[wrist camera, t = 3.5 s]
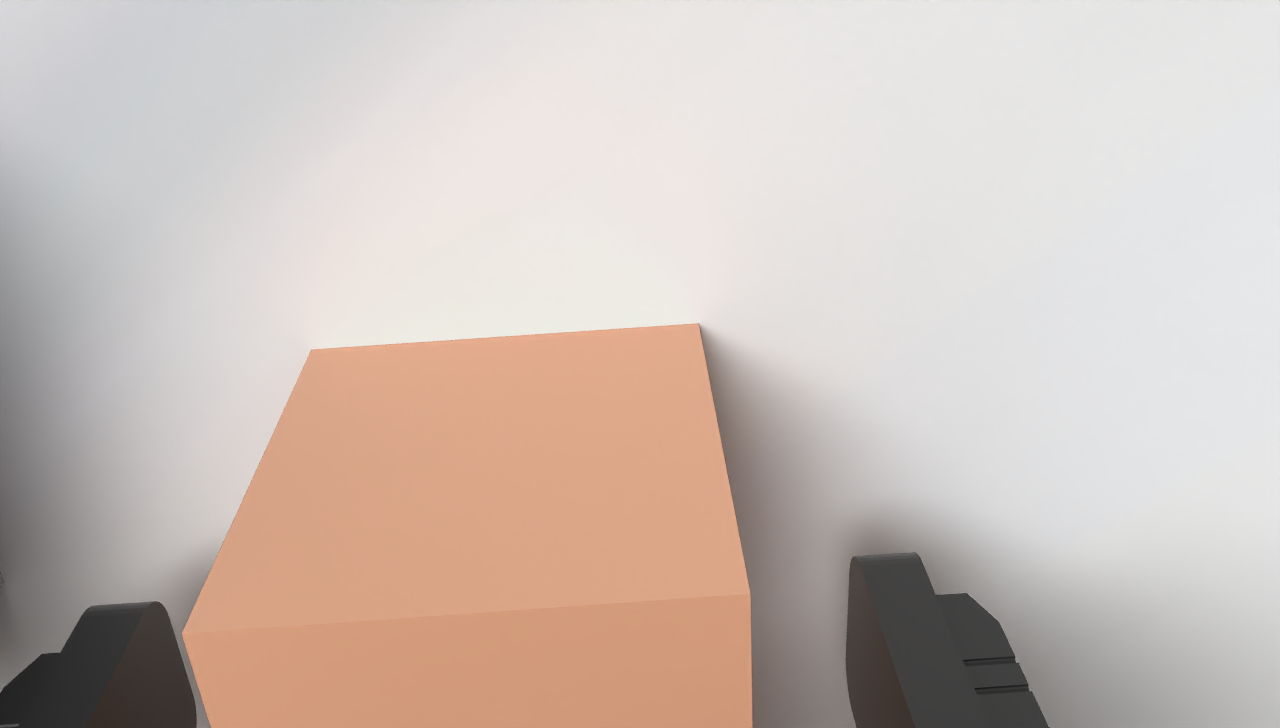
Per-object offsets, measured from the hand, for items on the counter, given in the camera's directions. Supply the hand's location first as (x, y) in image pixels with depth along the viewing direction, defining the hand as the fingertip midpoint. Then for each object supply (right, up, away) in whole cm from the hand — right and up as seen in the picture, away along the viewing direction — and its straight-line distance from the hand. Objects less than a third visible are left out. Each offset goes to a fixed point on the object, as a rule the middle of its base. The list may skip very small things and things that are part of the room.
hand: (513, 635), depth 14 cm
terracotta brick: (0, +1, +2) cm, 2 cm away
